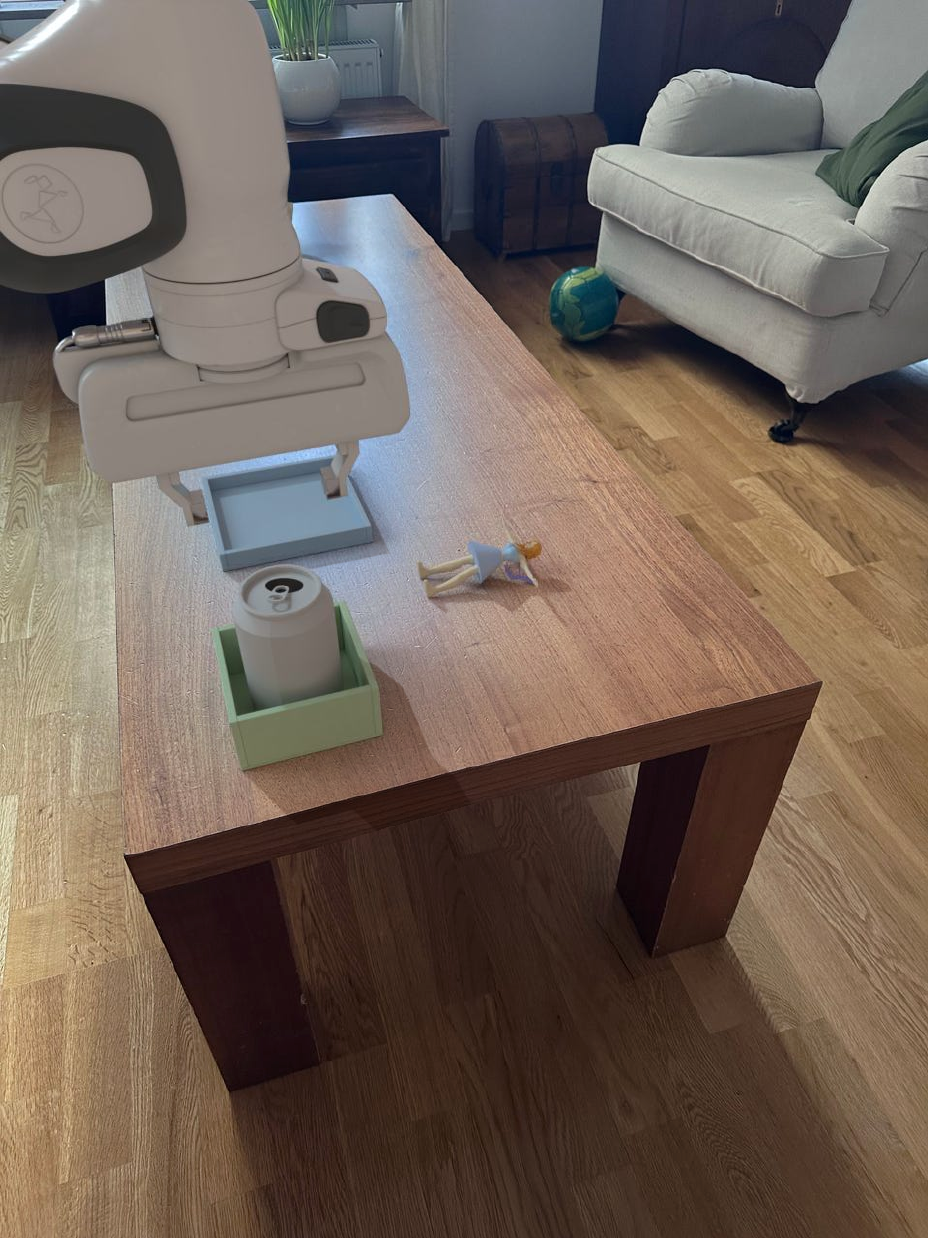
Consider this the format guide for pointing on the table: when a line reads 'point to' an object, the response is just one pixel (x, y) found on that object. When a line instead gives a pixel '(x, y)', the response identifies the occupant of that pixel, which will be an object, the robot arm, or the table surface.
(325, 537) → the tray
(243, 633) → the can
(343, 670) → the bin
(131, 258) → the robot arm
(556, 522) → the table surface
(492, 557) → the fairy figurine
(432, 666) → the table surface
